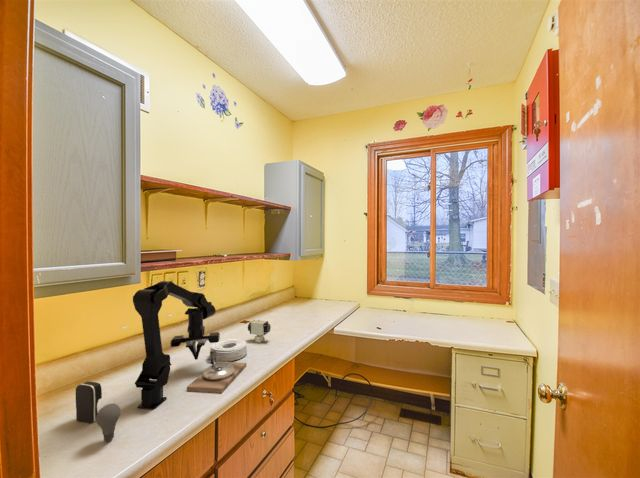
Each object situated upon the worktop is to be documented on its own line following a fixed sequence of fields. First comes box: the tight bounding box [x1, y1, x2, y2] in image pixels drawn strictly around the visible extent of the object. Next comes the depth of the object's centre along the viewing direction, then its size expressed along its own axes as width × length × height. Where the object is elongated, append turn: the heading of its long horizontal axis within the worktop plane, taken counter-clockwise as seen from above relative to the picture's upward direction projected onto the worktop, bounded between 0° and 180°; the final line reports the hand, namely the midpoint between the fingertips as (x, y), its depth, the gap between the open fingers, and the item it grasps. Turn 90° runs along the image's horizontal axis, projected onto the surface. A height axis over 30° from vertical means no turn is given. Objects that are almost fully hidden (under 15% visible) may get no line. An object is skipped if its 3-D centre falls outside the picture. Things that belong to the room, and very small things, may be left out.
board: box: [186, 361, 247, 394], centre depth 116 cm, size 22×14×2 cm, turn 171°
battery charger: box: [75, 381, 103, 424], centre depth 90 cm, size 7×4×11 cm, turn 76°
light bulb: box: [95, 403, 121, 442], centre depth 80 cm, size 6×6×10 cm
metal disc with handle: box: [202, 350, 234, 381], centre depth 117 cm, size 15×12×6 cm
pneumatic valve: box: [247, 319, 272, 344], centre depth 156 cm, size 6×12×12 cm, turn 74°
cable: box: [206, 338, 248, 364], centre depth 138 cm, size 18×18×6 cm
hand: (196, 359), depth 121 cm, fingers closed
